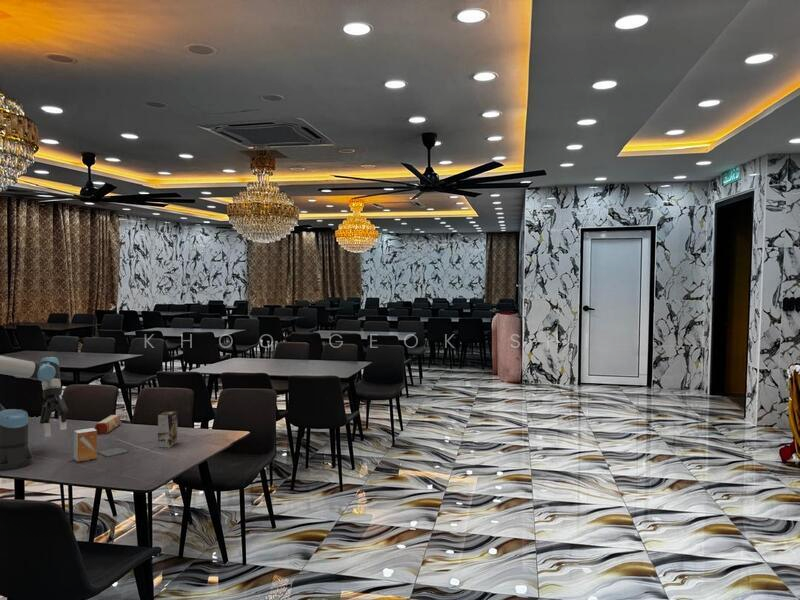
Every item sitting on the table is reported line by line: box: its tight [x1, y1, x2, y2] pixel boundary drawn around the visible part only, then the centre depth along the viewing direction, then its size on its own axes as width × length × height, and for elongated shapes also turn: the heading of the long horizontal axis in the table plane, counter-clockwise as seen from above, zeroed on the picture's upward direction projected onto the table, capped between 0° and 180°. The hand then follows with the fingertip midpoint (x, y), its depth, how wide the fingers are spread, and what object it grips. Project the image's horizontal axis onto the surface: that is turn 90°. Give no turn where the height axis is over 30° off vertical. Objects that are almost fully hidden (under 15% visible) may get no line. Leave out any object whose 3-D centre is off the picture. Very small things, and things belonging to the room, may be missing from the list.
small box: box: [73, 427, 98, 463], centre depth 256 cm, size 8×6×13 cm
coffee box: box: [157, 410, 178, 449], centre depth 280 cm, size 9×6×16 cm
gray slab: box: [97, 446, 130, 458], centre depth 266 cm, size 10×10×1 cm
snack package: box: [94, 414, 121, 435], centre depth 308 cm, size 21×7×7 cm, turn 8°
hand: (55, 433), depth 263 cm, fingers open, 13 cm apart
